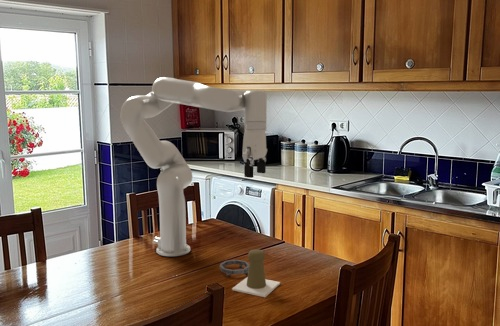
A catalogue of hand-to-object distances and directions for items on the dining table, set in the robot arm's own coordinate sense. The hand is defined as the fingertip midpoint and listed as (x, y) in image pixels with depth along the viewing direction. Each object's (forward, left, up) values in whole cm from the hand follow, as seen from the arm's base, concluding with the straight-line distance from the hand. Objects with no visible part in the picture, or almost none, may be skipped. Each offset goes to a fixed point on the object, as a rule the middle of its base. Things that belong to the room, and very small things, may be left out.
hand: (255, 175), depth 168 cm
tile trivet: (+12, -23, -30) cm, 40 cm away
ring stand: (0, -15, -30) cm, 34 cm away
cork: (+12, -23, -30) cm, 39 cm away
